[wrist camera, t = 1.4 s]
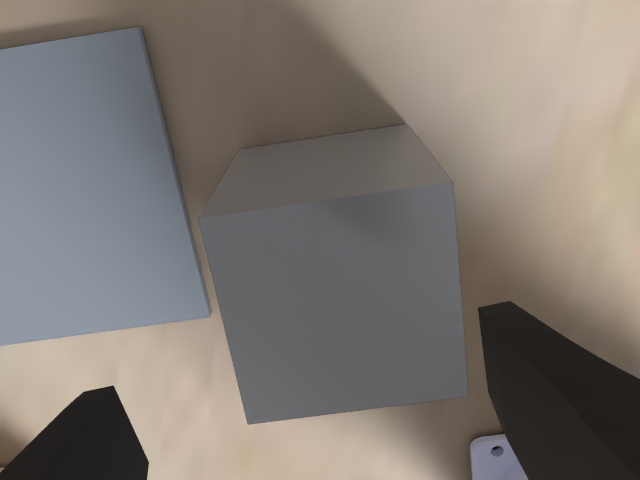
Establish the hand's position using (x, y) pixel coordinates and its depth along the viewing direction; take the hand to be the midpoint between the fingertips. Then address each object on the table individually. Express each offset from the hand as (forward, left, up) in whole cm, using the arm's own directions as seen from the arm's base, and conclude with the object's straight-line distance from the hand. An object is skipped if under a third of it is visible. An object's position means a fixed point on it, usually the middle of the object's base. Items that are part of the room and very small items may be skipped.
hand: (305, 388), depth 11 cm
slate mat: (+9, -2, -10) cm, 13 cm away
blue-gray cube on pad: (-1, 0, -10) cm, 10 cm away
